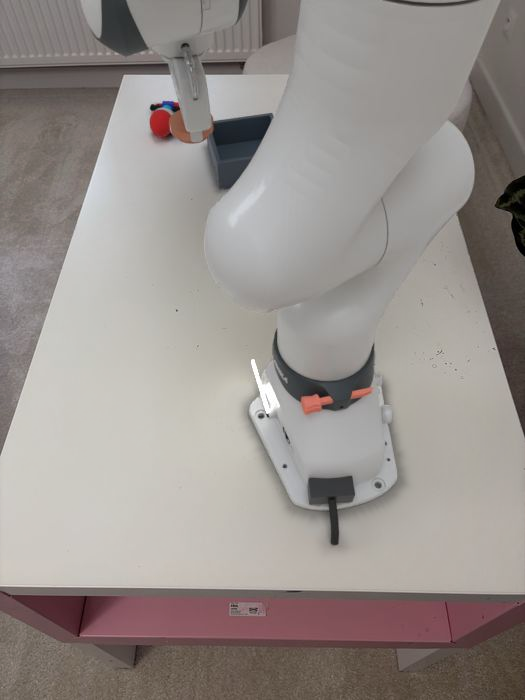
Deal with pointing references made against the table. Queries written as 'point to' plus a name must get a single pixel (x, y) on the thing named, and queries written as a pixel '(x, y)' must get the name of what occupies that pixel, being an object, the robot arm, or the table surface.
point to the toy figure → (162, 117)
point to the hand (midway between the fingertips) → (192, 123)
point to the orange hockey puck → (180, 130)
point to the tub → (235, 145)
